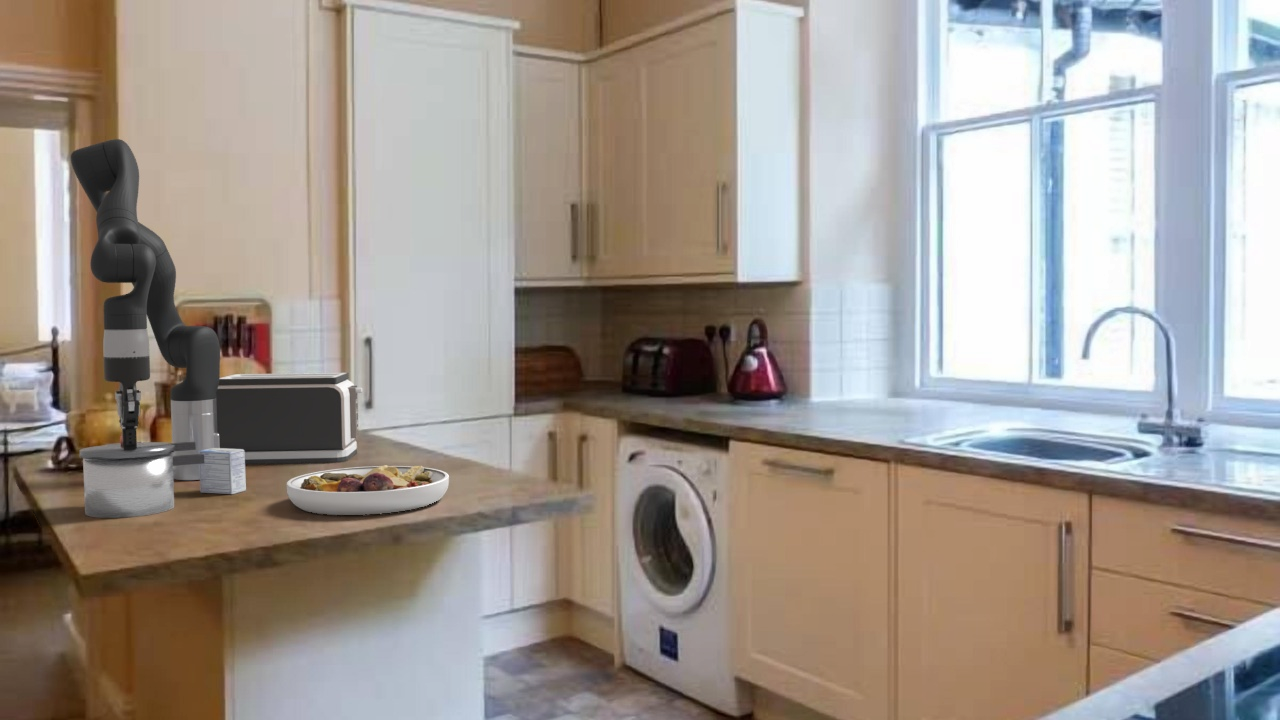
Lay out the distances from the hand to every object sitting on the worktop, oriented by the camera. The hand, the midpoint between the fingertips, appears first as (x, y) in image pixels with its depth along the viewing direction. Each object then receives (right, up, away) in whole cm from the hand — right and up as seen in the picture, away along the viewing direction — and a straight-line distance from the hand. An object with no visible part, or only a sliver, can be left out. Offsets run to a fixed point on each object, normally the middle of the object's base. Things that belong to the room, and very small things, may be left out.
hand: (129, 449), depth 194 cm
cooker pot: (0, -11, +7) cm, 13 cm away
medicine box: (+8, -11, +22) cm, 26 cm away
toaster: (+7, -8, +68) cm, 69 cm away
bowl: (+41, -12, +10) cm, 44 cm away
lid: (-1, -1, +5) cm, 5 cm away
